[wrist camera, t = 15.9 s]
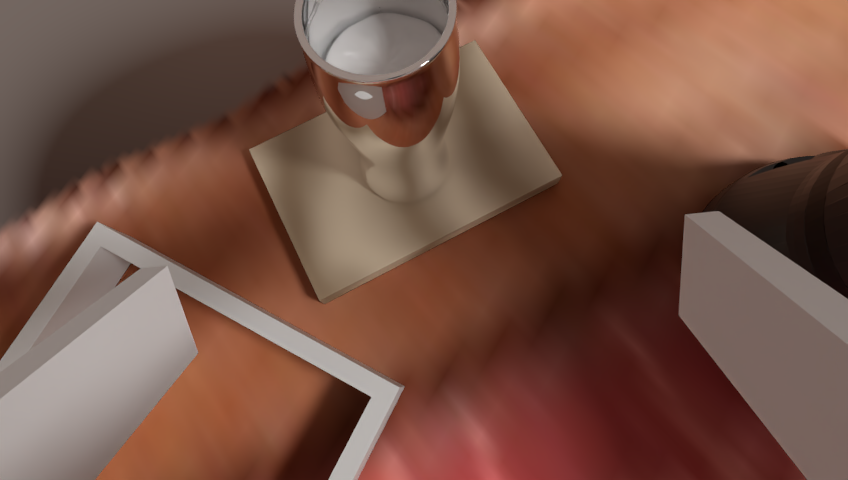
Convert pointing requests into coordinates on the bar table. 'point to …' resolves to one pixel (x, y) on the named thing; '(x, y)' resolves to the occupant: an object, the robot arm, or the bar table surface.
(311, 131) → the serving board
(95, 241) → the grey square frame
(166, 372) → the robot arm
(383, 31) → the beer glass
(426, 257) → the bar table surface
